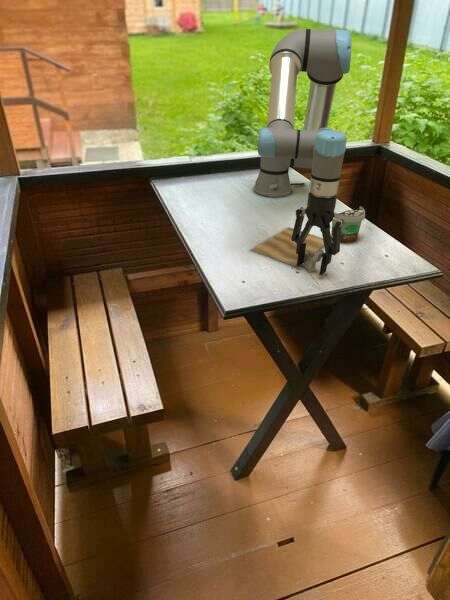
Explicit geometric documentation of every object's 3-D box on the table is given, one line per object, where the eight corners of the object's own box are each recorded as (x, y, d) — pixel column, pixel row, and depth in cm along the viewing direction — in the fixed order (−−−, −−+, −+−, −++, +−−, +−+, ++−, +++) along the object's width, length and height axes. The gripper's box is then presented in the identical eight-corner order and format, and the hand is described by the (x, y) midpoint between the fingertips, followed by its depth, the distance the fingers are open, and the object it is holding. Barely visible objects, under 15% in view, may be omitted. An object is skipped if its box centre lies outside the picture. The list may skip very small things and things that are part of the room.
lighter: (302, 265, 133) (306, 241, 129) (307, 264, 134) (311, 240, 129) (315, 276, 128) (319, 252, 123) (320, 275, 128) (324, 251, 124)
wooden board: (288, 228, 155) (289, 227, 155) (329, 241, 147) (330, 241, 146) (252, 250, 140) (252, 249, 140) (295, 266, 132) (295, 266, 132)
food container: (339, 247, 143) (344, 219, 138) (327, 240, 148) (332, 212, 142) (368, 240, 148) (374, 212, 142) (355, 233, 152) (361, 205, 147)
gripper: (283, 188, 120) (276, 262, 133) (351, 207, 110) (335, 285, 123) (298, 181, 125) (289, 253, 137) (363, 198, 114) (347, 275, 127)
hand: (311, 268), depth 130 cm, fingers closed on lighter, 7 cm apart
